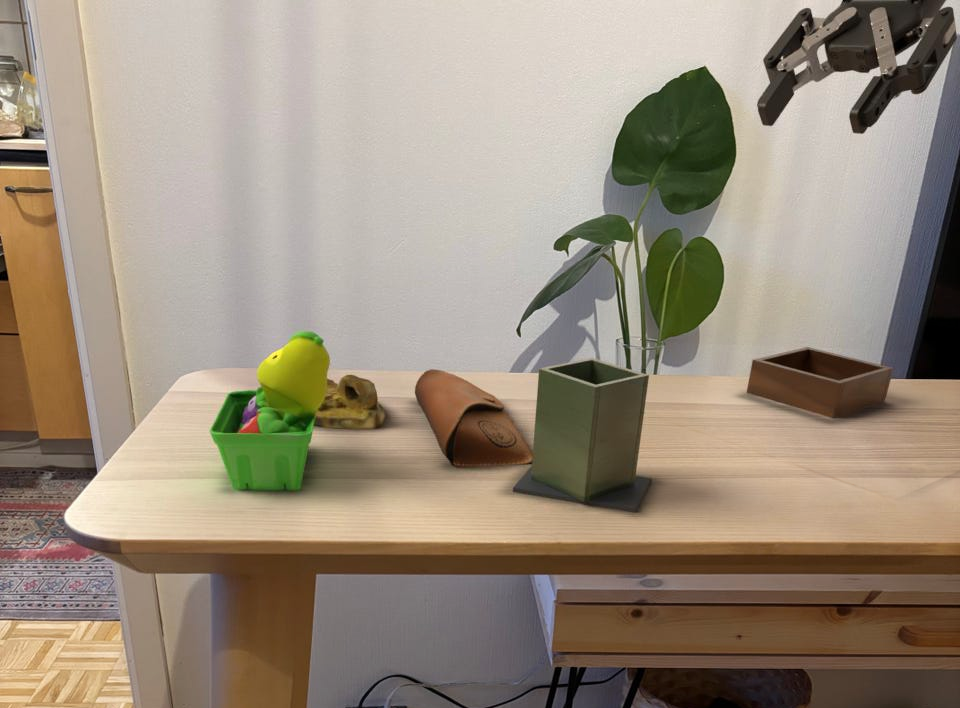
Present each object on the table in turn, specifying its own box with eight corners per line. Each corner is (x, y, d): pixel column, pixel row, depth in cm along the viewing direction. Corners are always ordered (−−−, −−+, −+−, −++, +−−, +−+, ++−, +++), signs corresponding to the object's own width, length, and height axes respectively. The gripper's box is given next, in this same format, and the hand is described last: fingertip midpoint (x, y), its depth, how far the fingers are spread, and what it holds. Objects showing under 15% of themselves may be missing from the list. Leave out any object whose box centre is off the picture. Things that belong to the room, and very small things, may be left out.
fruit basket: (233, 447, 83) (221, 313, 77) (336, 448, 84) (332, 316, 78) (214, 497, 73) (198, 348, 67) (330, 498, 74) (325, 351, 68)
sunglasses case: (542, 460, 82) (507, 394, 78) (472, 502, 82) (434, 439, 79) (495, 398, 97) (464, 341, 93) (436, 434, 98) (403, 378, 94)
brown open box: (799, 384, 109) (807, 346, 107) (883, 407, 102) (893, 368, 100) (745, 398, 103) (752, 359, 100) (831, 424, 96) (840, 383, 94)
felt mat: (651, 484, 80) (652, 477, 79) (635, 515, 74) (636, 508, 74) (536, 466, 82) (536, 459, 82) (512, 494, 76) (512, 487, 76)
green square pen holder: (581, 463, 81) (592, 357, 77) (634, 485, 78) (649, 375, 73) (530, 478, 78) (538, 368, 73) (583, 502, 74) (596, 387, 70)
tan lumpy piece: (238, 414, 94) (347, 449, 86) (229, 367, 91) (340, 399, 83) (307, 385, 100) (415, 415, 92) (300, 340, 97) (411, 367, 89)
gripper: (828, -74, 80) (722, 79, 79) (998, -87, 71) (880, 87, 70) (847, 6, 86) (748, 150, 85) (1005, 4, 77) (896, 165, 76)
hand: (807, 121), depth 78 cm, fingers open, 8 cm apart
